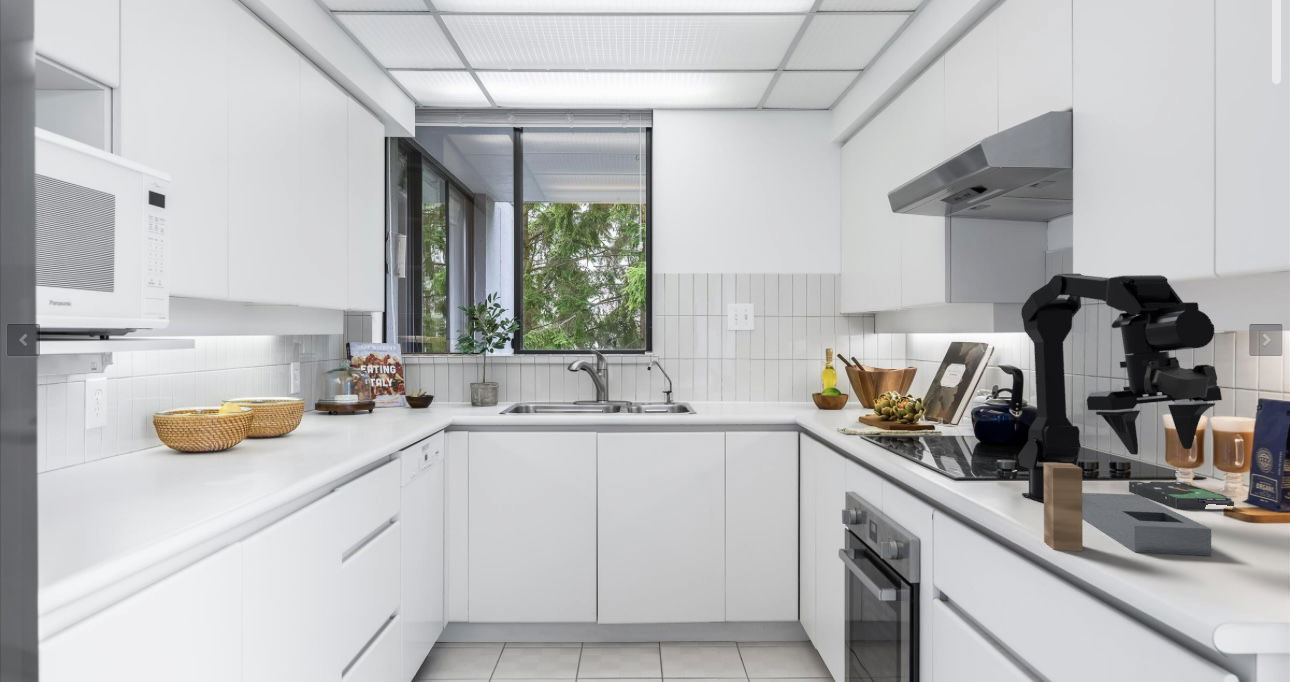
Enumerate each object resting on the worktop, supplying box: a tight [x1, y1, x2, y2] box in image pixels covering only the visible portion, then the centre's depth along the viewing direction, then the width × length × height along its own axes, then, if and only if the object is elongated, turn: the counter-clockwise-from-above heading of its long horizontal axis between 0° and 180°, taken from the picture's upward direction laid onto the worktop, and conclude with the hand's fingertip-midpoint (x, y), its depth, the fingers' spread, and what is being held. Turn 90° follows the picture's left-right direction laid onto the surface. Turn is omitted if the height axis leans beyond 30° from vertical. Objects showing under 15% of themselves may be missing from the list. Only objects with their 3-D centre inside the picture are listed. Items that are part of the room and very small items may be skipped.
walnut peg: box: [1043, 463, 1084, 552], centre depth 107 cm, size 4×4×12 cm
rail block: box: [1082, 492, 1212, 557], centre depth 113 cm, size 22×10×4 cm, turn 168°
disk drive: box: [1128, 480, 1235, 511], centre depth 135 cm, size 10×3×15 cm
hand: (1161, 451), depth 109 cm, fingers open, 9 cm apart
